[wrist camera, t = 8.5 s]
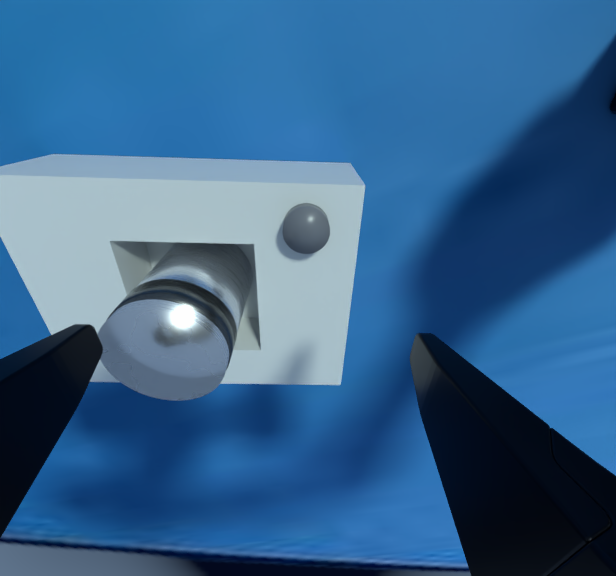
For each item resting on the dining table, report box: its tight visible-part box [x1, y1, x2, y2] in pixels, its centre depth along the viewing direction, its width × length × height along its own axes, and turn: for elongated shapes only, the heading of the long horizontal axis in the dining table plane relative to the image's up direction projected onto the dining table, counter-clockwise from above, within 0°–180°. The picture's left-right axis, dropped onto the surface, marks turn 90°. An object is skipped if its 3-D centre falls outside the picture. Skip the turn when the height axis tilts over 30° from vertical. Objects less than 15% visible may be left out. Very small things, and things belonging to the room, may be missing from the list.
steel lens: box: [98, 242, 253, 401], centre depth 15 cm, size 5×5×7 cm
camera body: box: [0, 154, 365, 385], centre depth 18 cm, size 16×12×6 cm
